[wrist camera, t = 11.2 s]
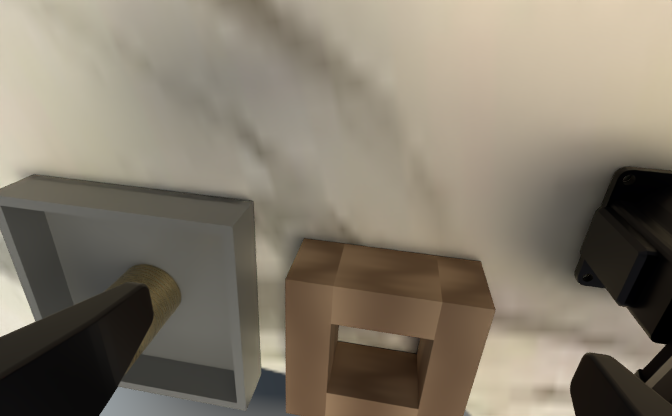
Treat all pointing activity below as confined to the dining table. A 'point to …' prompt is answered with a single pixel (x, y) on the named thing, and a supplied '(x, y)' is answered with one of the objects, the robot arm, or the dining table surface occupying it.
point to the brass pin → (153, 297)
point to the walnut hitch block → (384, 316)
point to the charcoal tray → (152, 249)
